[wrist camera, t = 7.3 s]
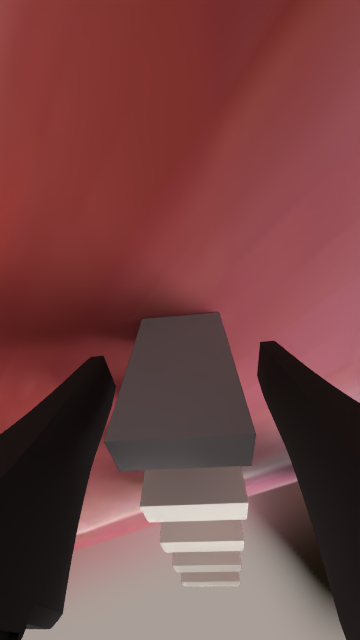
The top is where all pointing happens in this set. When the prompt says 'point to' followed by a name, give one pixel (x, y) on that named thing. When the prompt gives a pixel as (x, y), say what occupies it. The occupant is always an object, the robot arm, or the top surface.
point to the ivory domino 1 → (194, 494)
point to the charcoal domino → (181, 399)
